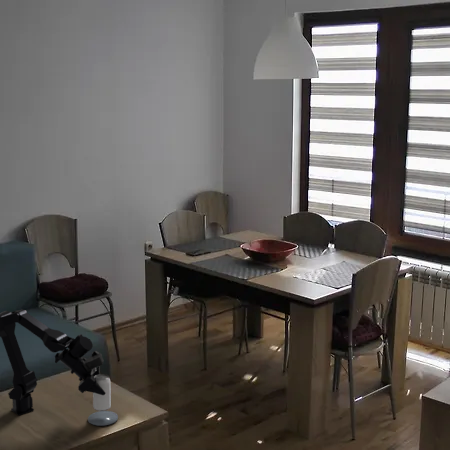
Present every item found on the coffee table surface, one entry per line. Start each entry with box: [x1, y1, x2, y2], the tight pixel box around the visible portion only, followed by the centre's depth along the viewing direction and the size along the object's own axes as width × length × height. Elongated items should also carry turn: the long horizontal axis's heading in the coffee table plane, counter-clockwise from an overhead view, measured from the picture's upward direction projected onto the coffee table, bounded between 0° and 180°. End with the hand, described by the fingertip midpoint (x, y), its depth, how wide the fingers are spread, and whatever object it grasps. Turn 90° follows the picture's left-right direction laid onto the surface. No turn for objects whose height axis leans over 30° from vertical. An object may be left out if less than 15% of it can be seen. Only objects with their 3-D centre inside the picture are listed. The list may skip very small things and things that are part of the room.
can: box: [92, 373, 112, 412], centre depth 257 cm, size 6×6×12 cm
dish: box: [87, 410, 119, 427], centre depth 259 cm, size 11×11×1 cm
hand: (105, 390), depth 257 cm, fingers closed on can, 6 cm apart
